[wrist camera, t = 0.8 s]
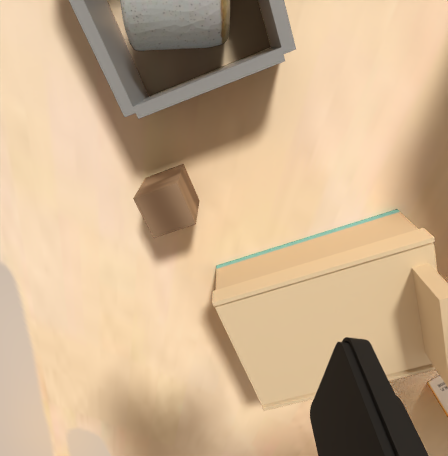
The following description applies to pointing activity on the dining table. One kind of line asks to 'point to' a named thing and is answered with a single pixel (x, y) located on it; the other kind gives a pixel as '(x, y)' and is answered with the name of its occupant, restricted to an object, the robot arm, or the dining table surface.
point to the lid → (339, 316)
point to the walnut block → (167, 201)
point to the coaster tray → (145, 105)
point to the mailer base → (313, 248)
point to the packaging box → (440, 392)
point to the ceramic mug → (176, 23)
